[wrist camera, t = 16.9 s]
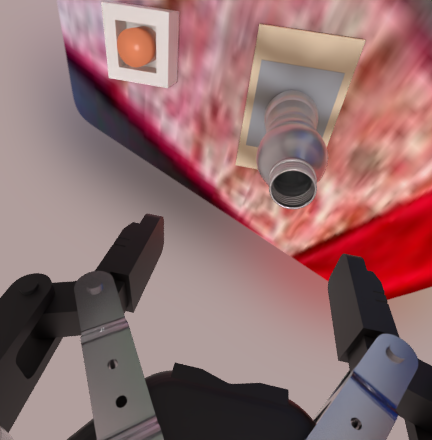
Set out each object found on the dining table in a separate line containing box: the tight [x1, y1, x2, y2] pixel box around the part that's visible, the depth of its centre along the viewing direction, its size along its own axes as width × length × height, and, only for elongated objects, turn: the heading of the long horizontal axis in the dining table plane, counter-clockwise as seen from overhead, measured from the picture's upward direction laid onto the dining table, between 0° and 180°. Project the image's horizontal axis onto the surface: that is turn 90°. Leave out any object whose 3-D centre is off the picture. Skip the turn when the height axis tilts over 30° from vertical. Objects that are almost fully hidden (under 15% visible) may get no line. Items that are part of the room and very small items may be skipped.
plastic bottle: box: [256, 90, 328, 209], centre depth 31 cm, size 6×7×20 cm
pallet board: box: [236, 24, 366, 169], centre depth 39 cm, size 18×12×2 cm, turn 173°
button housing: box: [101, 2, 179, 88], centre depth 37 cm, size 8×8×4 cm
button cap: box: [117, 26, 156, 67], centre depth 36 cm, size 4×4×4 cm
